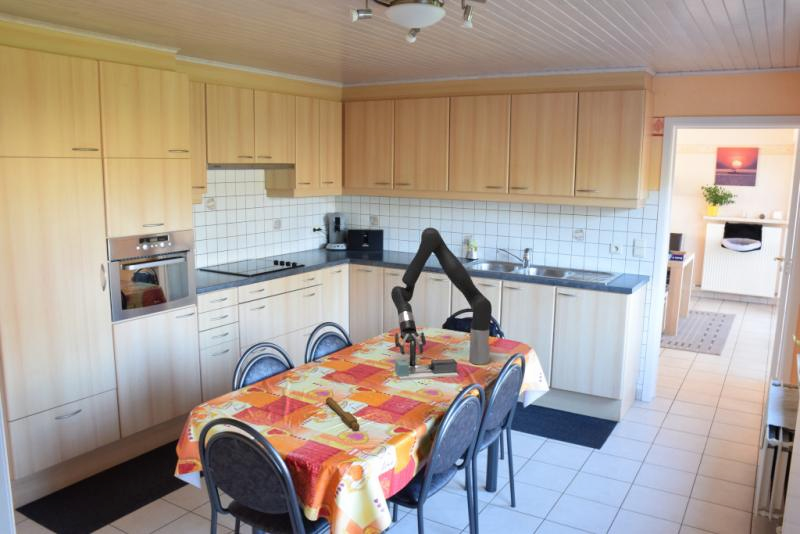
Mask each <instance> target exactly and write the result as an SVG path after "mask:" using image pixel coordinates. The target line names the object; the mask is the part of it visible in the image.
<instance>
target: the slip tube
mask: <svg viewBox="0 0 800 534" xmlns="http://www.w3.org/2000/svg"><path fill="white" fill-rule="evenodd" d="M416 353H417V344H416V340H410V343H409V362H408V364H409V371H410V372H415V371H419V370H434V364H431V363H428V364H426V363H425V364H416V361H417V359H416V356H417V354H416Z"/></svg>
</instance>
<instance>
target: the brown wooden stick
mask: <svg viewBox="0 0 800 534" xmlns="http://www.w3.org/2000/svg"><path fill="white" fill-rule="evenodd" d="M325 403H326V404H327V405H328V406H329V407H330V408H331V409H332V410H333V411H334V412H336V413H337V414H338V415H340V418H341V421H342V422H343V423H344V424H345V425H346V426H347V427H348V428H349V429H352V430H353V431H359V429H360V427H361V426H360V424H359V422H358V419H357V418H356V417H355V416H354V415H353V414H352V413H351V412H350V411H345V410H344V409H343V408H342V407H341V406H340V405H339V404H338V403H337V401H335V400H334V399H333V397H331V396H328V397H326V399H325Z"/></svg>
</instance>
